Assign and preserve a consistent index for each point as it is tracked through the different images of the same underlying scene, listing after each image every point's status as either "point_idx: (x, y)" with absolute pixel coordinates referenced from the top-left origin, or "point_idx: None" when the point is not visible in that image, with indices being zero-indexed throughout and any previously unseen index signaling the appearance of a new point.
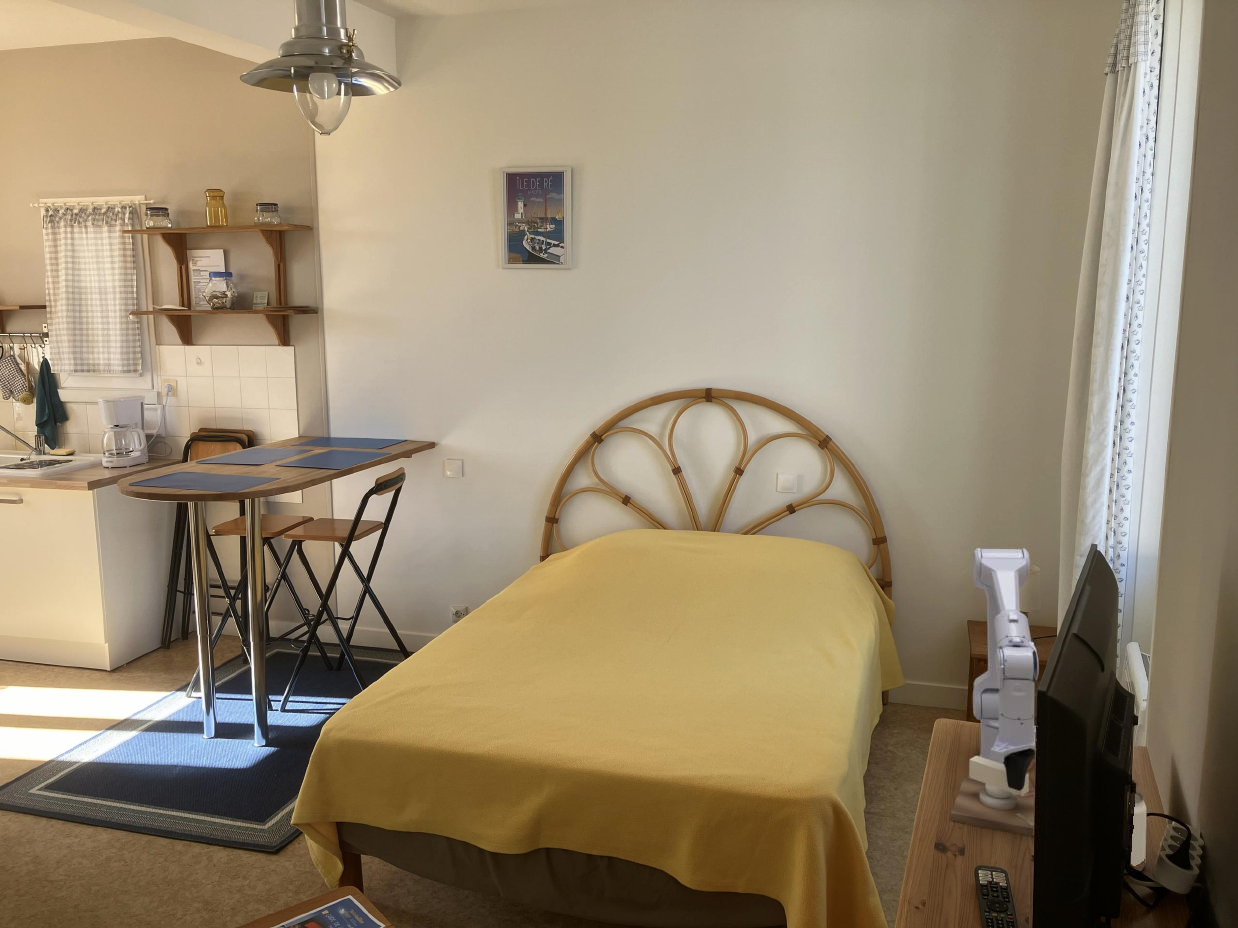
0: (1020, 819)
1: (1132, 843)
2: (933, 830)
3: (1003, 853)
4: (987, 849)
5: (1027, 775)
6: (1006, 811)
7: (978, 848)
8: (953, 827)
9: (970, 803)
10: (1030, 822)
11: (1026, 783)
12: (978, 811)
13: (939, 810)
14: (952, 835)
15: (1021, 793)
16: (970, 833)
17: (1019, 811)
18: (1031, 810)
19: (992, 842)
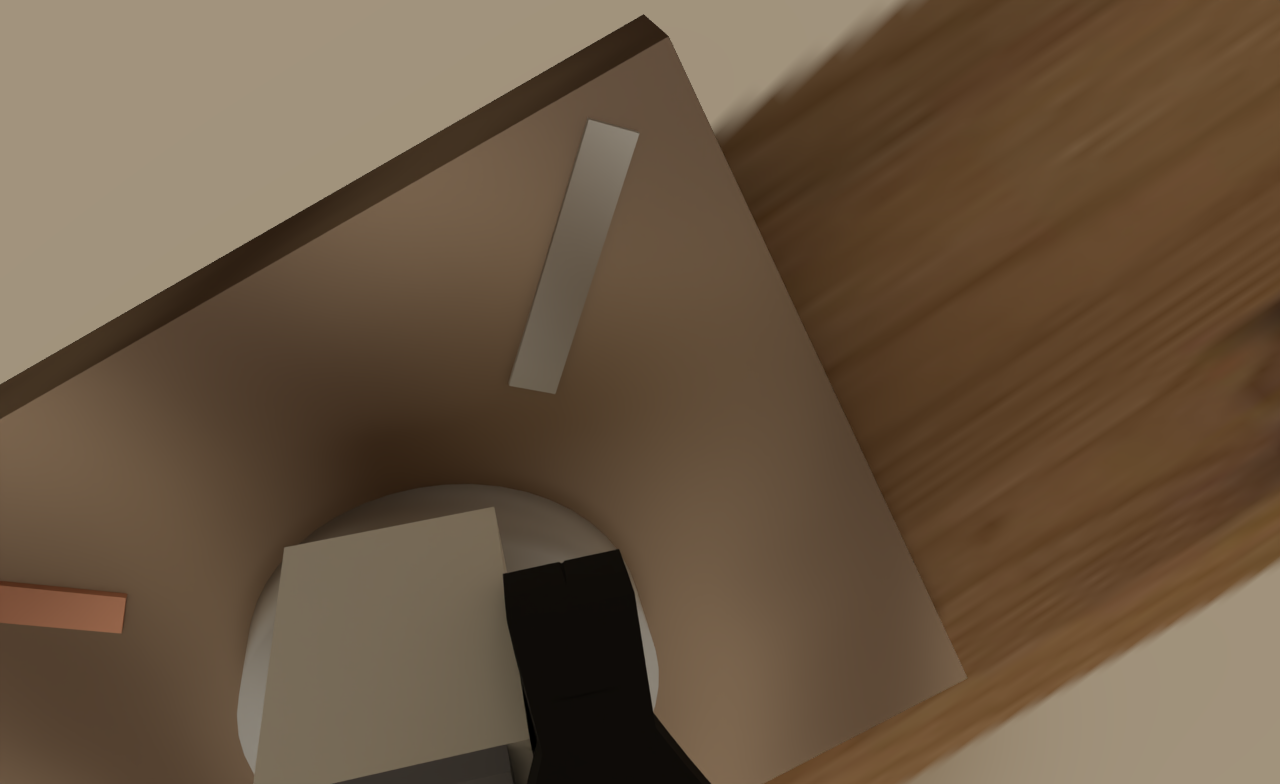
0: (607, 294)
1: None
2: (1146, 589)
3: (1185, 31)
4: (1195, 174)
5: (309, 752)
6: (570, 479)
7: (1221, 232)
8: (1015, 553)
9: (699, 715)
10: (589, 179)
11: (349, 637)
12: (779, 599)
13: (845, 754)
14: (1136, 479)
15: (498, 532)
16: (1021, 429)
17: (451, 413)
18: (307, 356)
19: (1050, 227)
